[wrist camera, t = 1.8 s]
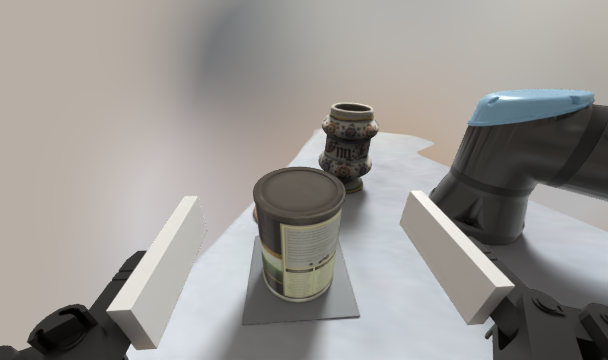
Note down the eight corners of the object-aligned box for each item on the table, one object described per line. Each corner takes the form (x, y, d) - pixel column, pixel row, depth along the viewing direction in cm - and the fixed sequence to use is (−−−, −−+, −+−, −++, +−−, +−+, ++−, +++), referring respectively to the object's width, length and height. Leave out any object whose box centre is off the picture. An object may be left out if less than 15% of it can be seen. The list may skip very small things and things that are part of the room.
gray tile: (336, 233, 38) (336, 232, 38) (359, 316, 26) (360, 315, 26) (255, 236, 37) (255, 235, 37) (242, 324, 25) (242, 323, 25)
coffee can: (248, 287, 29) (232, 202, 22) (282, 235, 38) (278, 160, 30) (322, 316, 26) (332, 228, 19) (341, 252, 34) (353, 174, 27)
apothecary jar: (378, 186, 52) (395, 108, 43) (341, 202, 46) (352, 117, 37) (343, 166, 61) (351, 98, 51) (307, 178, 55) (310, 104, 45)
